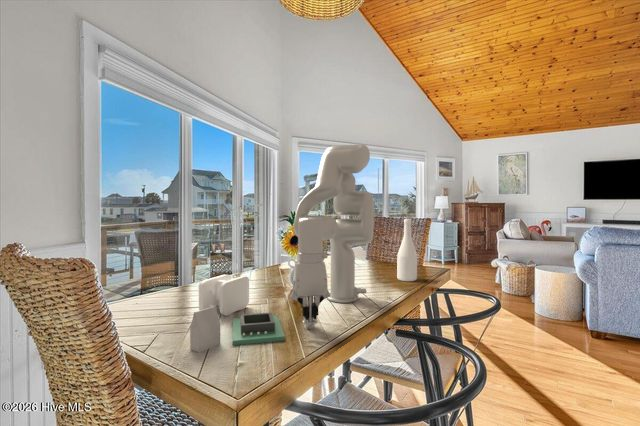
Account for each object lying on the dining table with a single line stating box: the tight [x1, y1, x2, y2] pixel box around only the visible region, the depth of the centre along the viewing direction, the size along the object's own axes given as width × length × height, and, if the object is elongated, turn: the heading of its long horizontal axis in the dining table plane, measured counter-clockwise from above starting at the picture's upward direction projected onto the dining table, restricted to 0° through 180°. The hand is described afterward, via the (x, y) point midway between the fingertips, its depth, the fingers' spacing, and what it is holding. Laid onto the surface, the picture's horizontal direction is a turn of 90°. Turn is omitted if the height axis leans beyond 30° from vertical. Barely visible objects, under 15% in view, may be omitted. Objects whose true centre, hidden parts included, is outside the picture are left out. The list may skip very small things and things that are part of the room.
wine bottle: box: [396, 218, 418, 282], centre depth 172 cm, size 10×10×30 cm
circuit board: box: [232, 312, 286, 346], centre depth 104 cm, size 14×18×4 cm
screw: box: [302, 296, 319, 330], centre depth 107 cm, size 13×5×5 cm
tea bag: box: [189, 306, 221, 353], centre depth 93 cm, size 4×7×10 cm, turn 145°
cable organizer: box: [198, 274, 250, 317], centre depth 123 cm, size 15×11×12 cm
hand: (310, 317), depth 107 cm, fingers closed on screw, 2 cm apart
